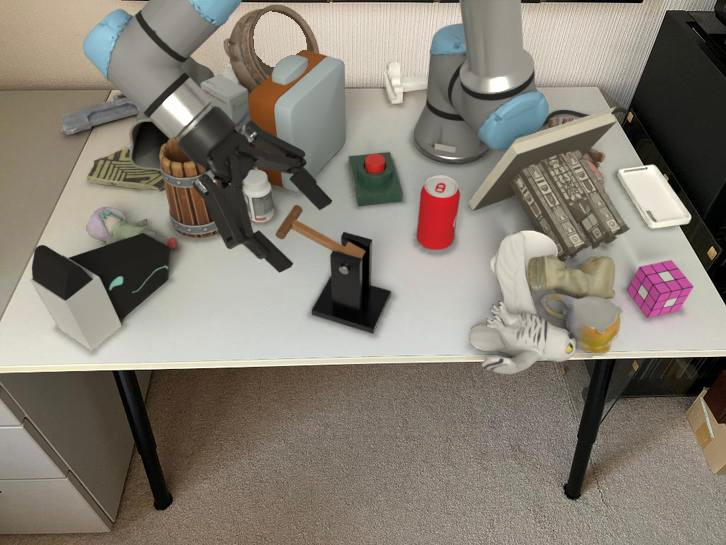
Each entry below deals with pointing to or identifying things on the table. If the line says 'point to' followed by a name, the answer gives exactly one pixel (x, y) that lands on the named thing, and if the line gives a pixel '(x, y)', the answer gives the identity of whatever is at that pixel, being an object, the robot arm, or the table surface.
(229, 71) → the toy car
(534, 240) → the cup
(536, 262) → the sculpture
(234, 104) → the ink box
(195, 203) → the mug
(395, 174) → the button box
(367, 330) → the bracket
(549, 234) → the building model
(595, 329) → the mug
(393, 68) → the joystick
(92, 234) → the toy
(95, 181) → the pottery shard
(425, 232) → the beverage can
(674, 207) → the phone case
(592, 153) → the figurine
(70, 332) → the decorative object
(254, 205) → the pill bottle
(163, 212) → the table surface
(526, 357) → the toy
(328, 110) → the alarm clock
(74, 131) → the handgun
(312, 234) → the lever
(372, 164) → the button
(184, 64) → the vase
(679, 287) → the puzzle toy
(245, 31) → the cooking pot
